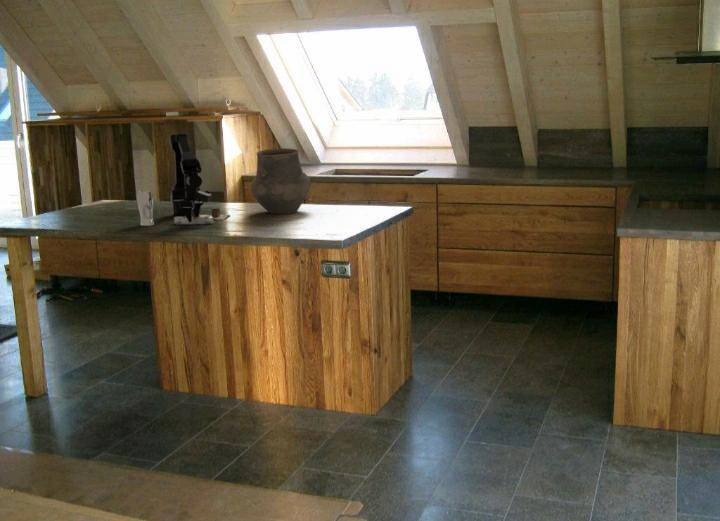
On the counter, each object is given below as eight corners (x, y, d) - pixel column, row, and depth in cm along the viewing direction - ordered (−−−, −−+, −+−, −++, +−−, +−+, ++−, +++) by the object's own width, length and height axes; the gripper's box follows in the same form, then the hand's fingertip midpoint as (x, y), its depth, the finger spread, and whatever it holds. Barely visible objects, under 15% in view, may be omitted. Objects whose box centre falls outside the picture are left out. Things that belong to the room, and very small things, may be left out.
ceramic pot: (315, 207, 411) (313, 146, 405) (306, 216, 384) (303, 151, 377) (259, 208, 414) (256, 148, 408) (246, 217, 387) (242, 153, 380)
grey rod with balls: (173, 224, 374) (172, 217, 373) (176, 223, 378) (176, 216, 377) (211, 224, 371) (211, 217, 370) (214, 222, 375) (214, 216, 374)
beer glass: (136, 225, 375) (133, 192, 372) (150, 223, 380) (148, 190, 376) (143, 226, 370) (140, 193, 367) (157, 224, 374) (155, 191, 371)
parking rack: (181, 220, 383) (180, 210, 382) (189, 217, 394) (188, 206, 393) (222, 220, 380) (222, 209, 379) (230, 216, 390) (229, 206, 389)
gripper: (201, 188, 361) (203, 223, 364) (215, 183, 379) (217, 216, 382) (177, 188, 362) (179, 223, 366) (192, 183, 380) (194, 216, 384)
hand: (193, 220), depth 374 cm, fingers open, 9 cm apart
